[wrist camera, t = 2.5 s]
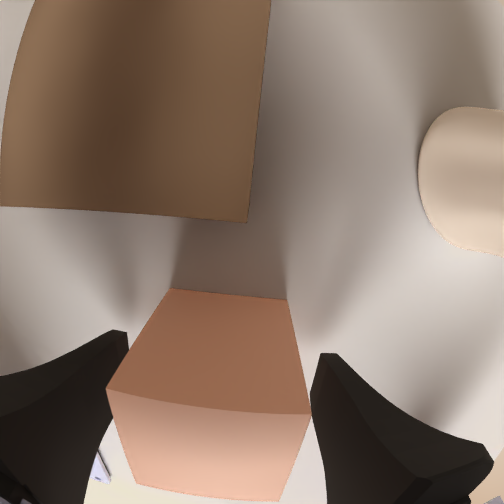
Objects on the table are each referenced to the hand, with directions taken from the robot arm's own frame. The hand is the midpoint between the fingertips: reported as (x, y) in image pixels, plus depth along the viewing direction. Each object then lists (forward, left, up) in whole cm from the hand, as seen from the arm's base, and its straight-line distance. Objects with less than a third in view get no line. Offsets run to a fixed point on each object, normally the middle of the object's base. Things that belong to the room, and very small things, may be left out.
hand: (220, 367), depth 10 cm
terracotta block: (0, 0, -2) cm, 2 cm away
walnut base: (-4, +10, -2) cm, 11 cm away
